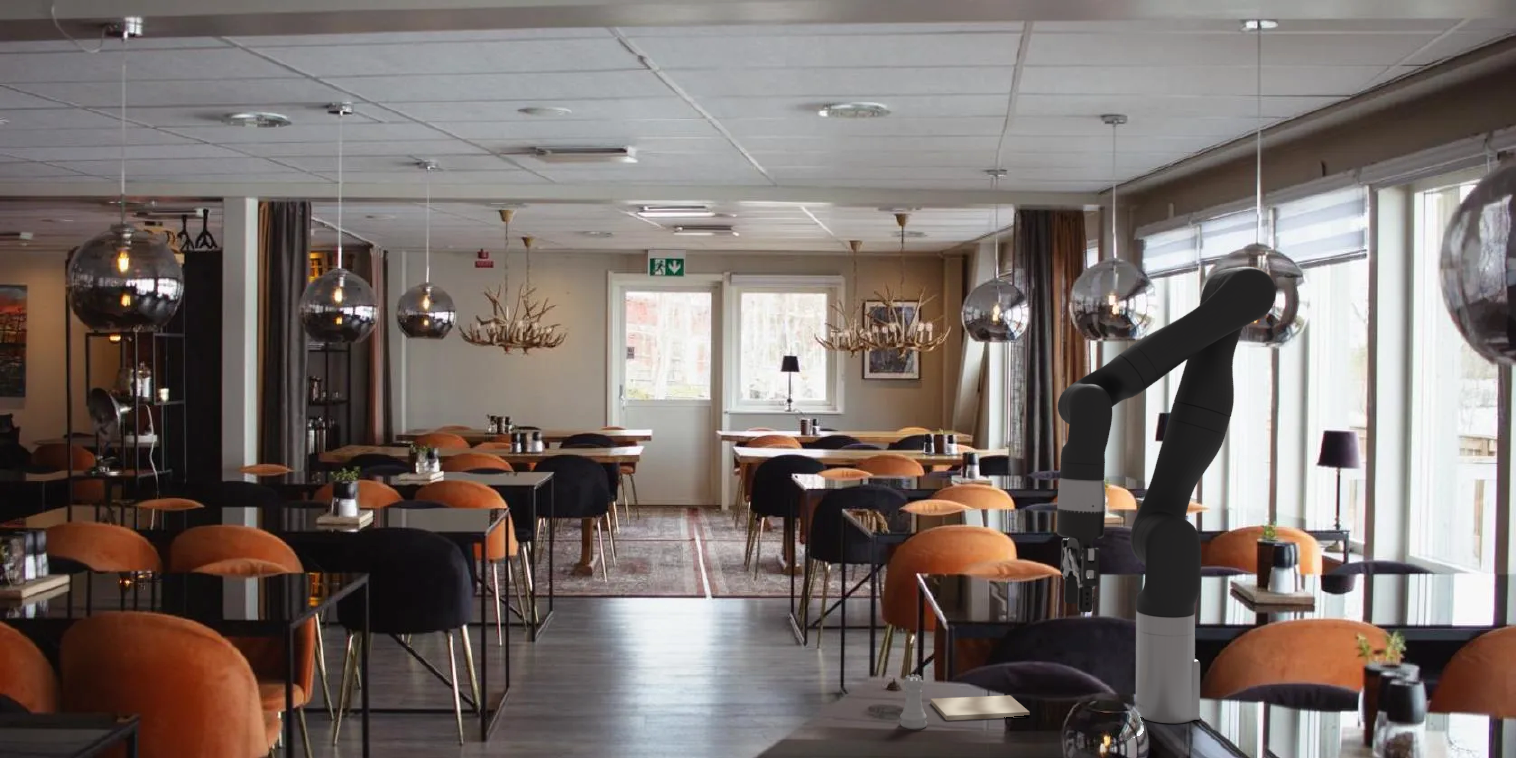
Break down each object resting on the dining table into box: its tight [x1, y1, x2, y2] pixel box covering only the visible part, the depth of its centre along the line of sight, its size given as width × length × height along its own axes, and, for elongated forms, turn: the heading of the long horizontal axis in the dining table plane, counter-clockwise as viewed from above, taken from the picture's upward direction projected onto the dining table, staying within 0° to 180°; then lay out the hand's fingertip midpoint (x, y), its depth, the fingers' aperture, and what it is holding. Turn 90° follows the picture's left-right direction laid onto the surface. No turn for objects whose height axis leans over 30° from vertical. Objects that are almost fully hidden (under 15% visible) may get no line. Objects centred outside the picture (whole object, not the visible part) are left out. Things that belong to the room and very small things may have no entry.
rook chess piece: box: [899, 674, 928, 730], centre depth 209 cm, size 4×4×8 cm
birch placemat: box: [930, 695, 1030, 721], centre depth 217 cm, size 14×10×1 cm
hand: (1077, 607), depth 210 cm, fingers open, 8 cm apart
